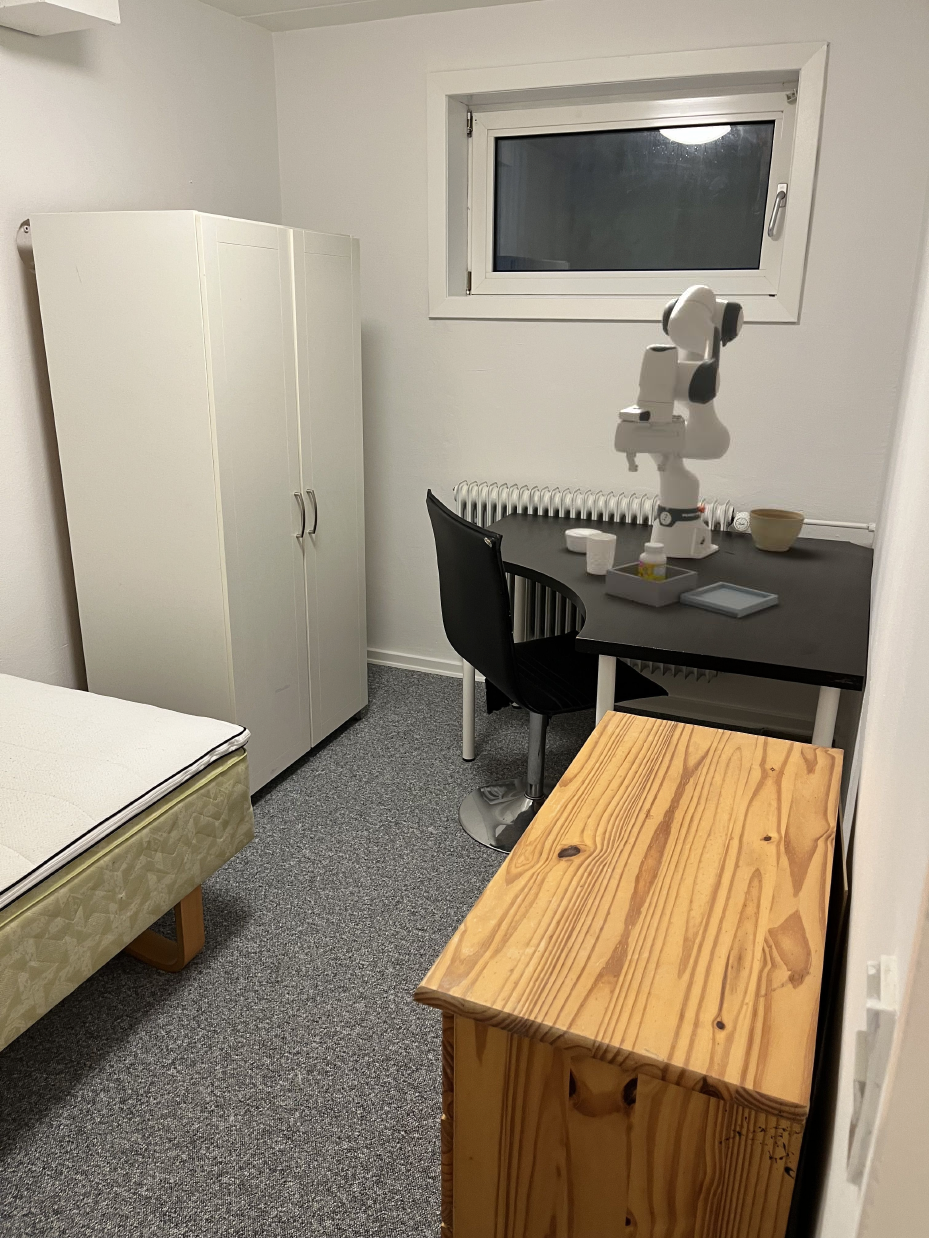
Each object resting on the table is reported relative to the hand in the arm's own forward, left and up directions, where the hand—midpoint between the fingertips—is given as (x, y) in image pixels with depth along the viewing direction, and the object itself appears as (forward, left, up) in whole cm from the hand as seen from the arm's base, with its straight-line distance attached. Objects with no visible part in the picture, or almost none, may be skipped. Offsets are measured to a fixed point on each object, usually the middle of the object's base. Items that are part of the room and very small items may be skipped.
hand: (647, 471), depth 223 cm
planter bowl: (-70, -2, -31) cm, 77 cm away
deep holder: (+1, +4, -30) cm, 31 cm away
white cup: (-6, -18, -31) cm, 36 cm away
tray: (-8, +21, -30) cm, 38 cm away
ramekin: (-23, -38, -31) cm, 54 cm away
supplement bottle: (+1, +4, -30) cm, 31 cm away
